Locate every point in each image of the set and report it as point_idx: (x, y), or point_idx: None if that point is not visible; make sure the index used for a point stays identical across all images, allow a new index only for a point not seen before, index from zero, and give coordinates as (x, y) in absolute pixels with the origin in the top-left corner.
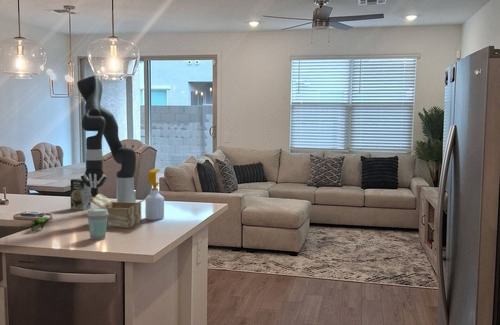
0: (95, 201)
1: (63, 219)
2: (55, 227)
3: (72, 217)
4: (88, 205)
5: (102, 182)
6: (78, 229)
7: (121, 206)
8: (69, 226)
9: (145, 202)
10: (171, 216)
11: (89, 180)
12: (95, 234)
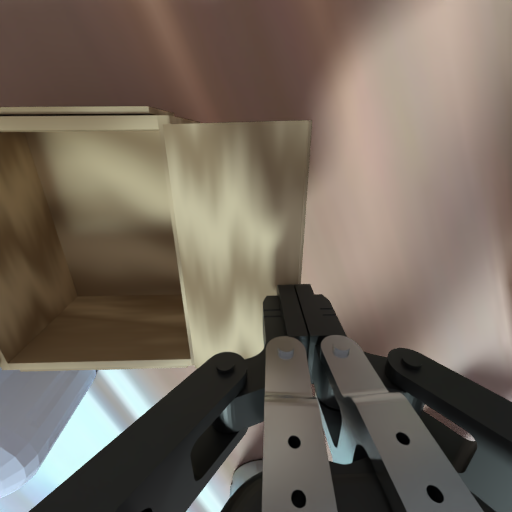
0: (228, 174)
1: (450, 271)
2: (454, 62)
3: (417, 316)
4: None
5: (141, 423)
6: (297, 26)
7: (143, 340)
8: (378, 110)
9: (42, 422)
10: None
11: (432, 437)
12: None
